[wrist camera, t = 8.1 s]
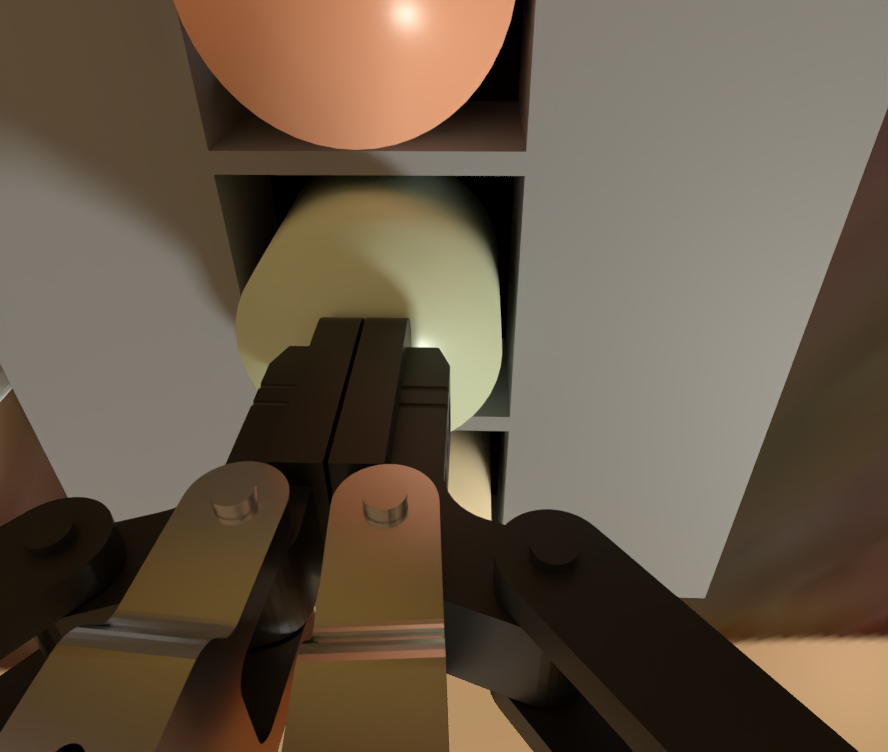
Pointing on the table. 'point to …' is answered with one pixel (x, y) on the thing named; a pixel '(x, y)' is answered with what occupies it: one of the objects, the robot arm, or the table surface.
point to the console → (531, 251)
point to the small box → (4, 384)
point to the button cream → (471, 471)
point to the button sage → (382, 275)
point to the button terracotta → (349, 62)
